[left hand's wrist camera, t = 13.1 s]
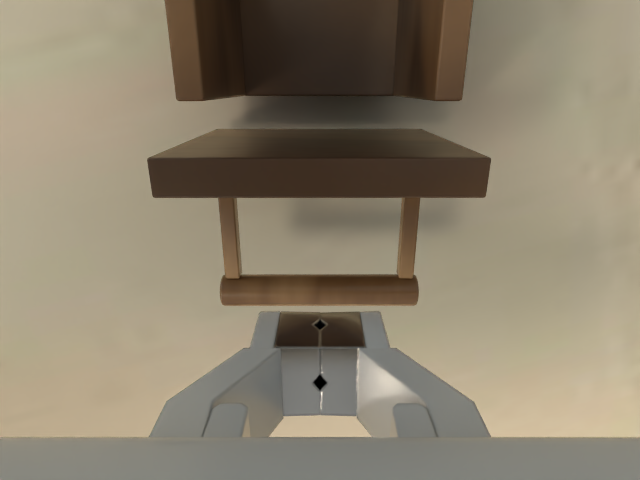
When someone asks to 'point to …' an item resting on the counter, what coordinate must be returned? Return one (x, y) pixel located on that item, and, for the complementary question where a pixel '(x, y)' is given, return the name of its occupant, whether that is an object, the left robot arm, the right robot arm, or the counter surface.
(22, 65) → the counter surface
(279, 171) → the drawer
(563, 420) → the counter surface
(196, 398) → the left robot arm
